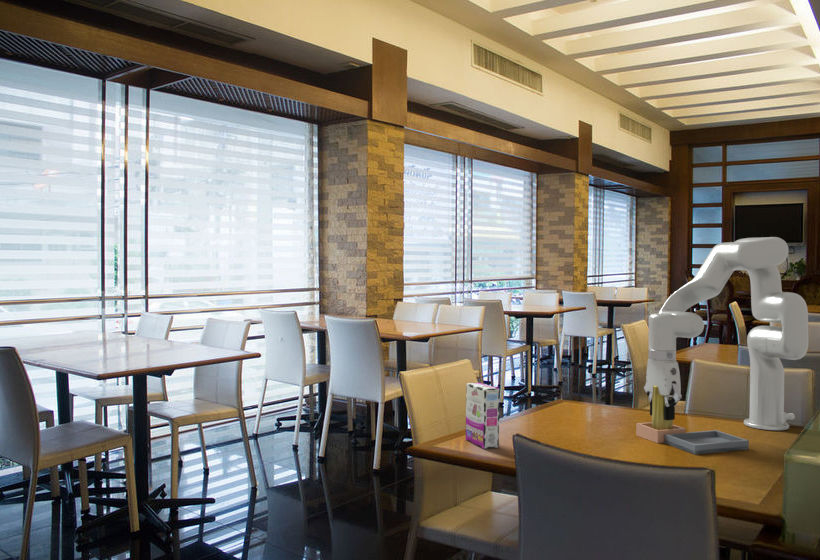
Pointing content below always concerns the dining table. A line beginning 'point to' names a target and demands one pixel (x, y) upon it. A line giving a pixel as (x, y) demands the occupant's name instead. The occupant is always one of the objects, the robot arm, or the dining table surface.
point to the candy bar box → (482, 415)
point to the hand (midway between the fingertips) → (662, 416)
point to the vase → (659, 411)
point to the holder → (655, 432)
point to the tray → (706, 442)
